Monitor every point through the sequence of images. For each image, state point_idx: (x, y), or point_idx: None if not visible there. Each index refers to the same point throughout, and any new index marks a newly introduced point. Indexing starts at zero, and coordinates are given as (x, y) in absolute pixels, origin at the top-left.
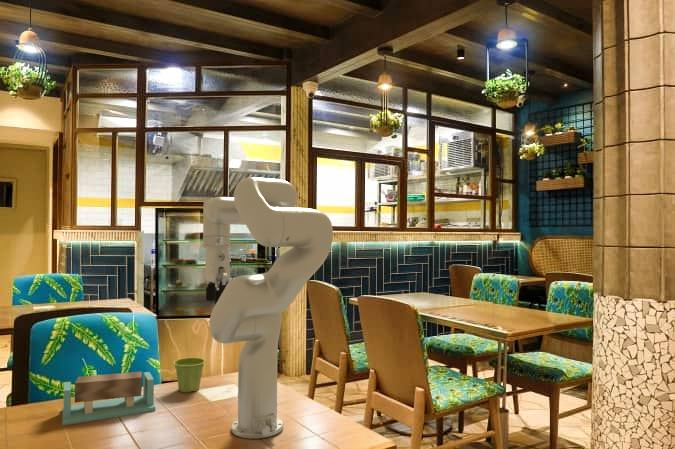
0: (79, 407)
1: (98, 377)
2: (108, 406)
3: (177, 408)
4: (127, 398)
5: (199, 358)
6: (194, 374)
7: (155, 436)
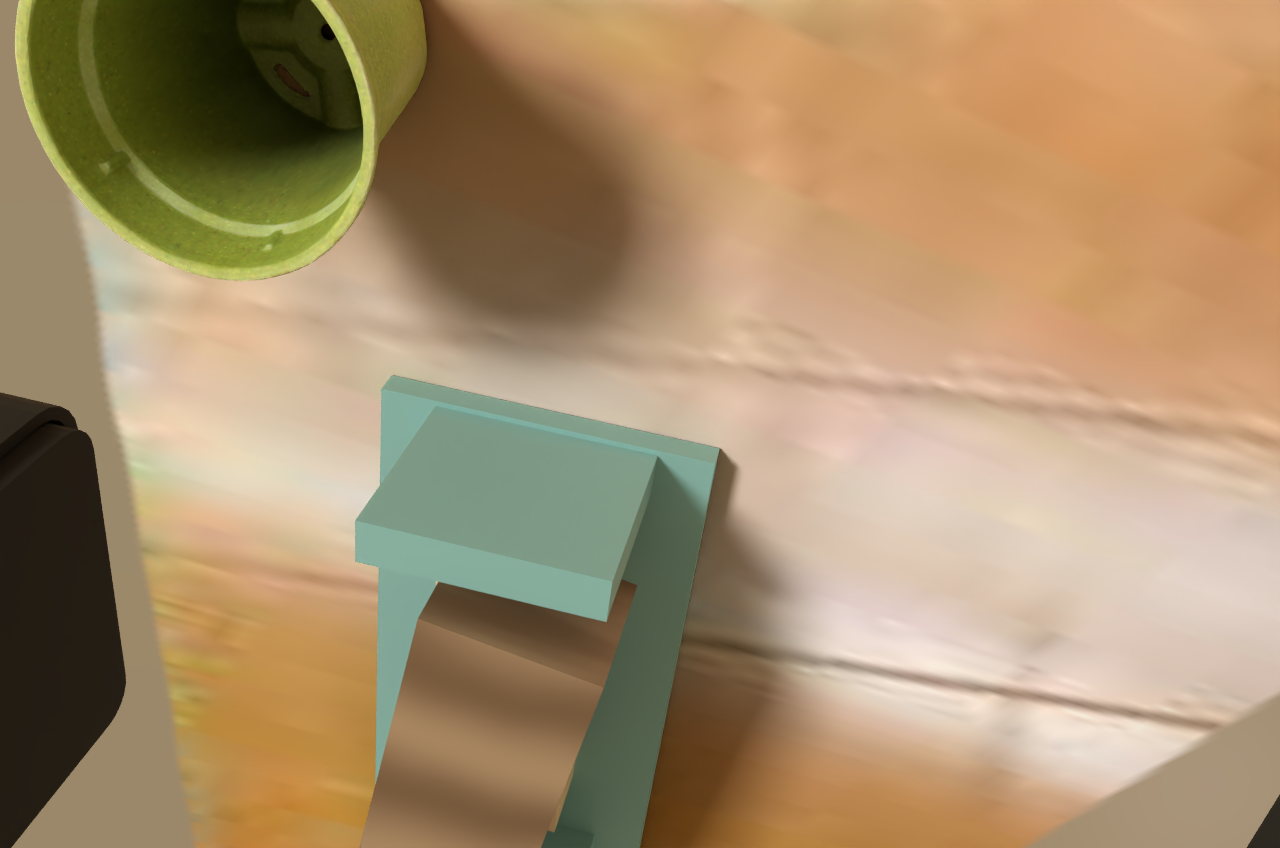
0: None
1: None
2: None
3: (778, 311)
4: None
5: None
6: (383, 71)
7: (1210, 624)
